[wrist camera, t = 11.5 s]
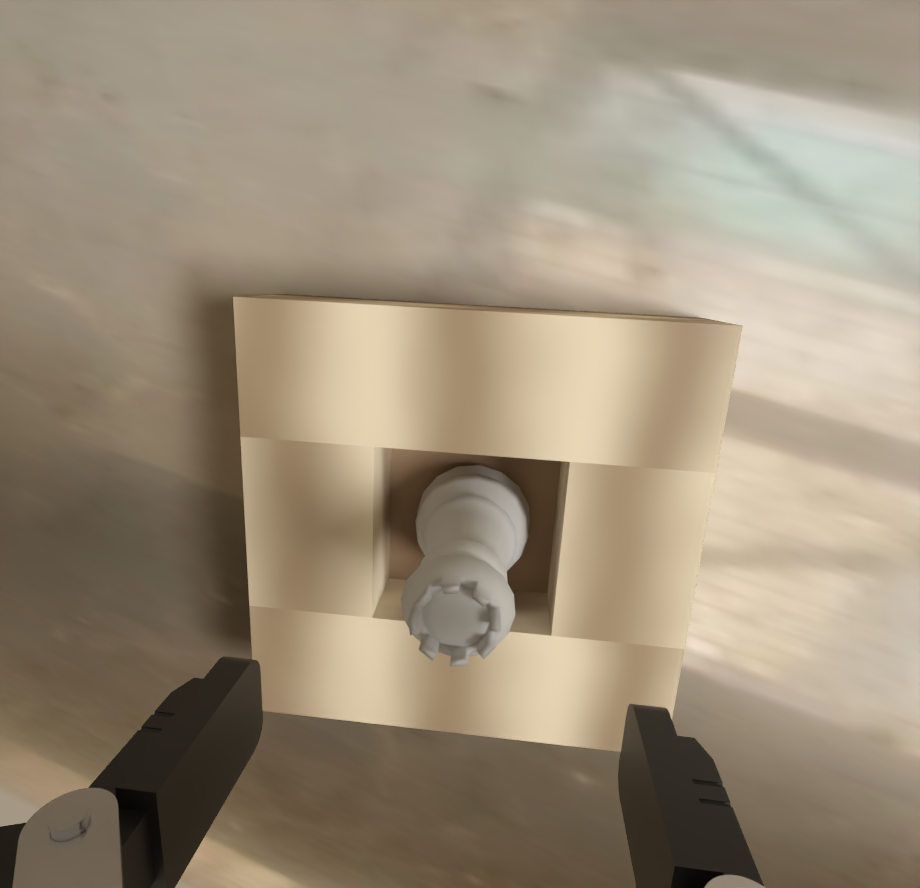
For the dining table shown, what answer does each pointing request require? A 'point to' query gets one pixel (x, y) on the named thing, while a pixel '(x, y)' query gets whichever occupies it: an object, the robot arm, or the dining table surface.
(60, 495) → the dining table surface
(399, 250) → the dining table surface
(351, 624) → the socket block
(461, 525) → the rook chess piece
